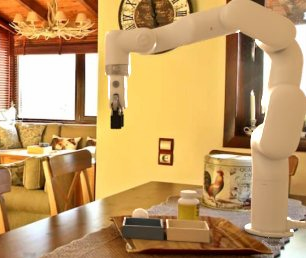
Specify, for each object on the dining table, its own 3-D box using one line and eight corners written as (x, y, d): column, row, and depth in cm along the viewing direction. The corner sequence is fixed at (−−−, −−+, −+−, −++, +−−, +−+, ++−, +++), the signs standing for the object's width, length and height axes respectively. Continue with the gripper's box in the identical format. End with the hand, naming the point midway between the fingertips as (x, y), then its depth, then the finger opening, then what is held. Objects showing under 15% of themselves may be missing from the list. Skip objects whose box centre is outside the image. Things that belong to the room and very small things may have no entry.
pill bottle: (200, 231, 150) (201, 193, 149) (178, 230, 151) (179, 193, 150) (197, 225, 156) (198, 189, 155) (176, 225, 157) (176, 189, 156)
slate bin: (162, 230, 151) (162, 218, 151) (163, 240, 141) (163, 227, 141) (124, 228, 154) (124, 216, 154) (122, 237, 144) (122, 225, 144)
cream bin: (205, 232, 148) (206, 220, 148) (209, 242, 138) (209, 229, 138) (166, 230, 151) (166, 219, 150) (167, 240, 141) (167, 227, 141)
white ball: (129, 225, 158) (129, 209, 157) (135, 221, 161) (136, 206, 161) (144, 227, 155) (144, 211, 154) (151, 224, 158) (151, 208, 158)
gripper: (128, 70, 146) (128, 130, 147) (131, 72, 163) (131, 126, 164) (101, 70, 148) (101, 129, 149) (107, 72, 165) (107, 126, 166)
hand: (117, 127), depth 157 cm, fingers open, 9 cm apart
